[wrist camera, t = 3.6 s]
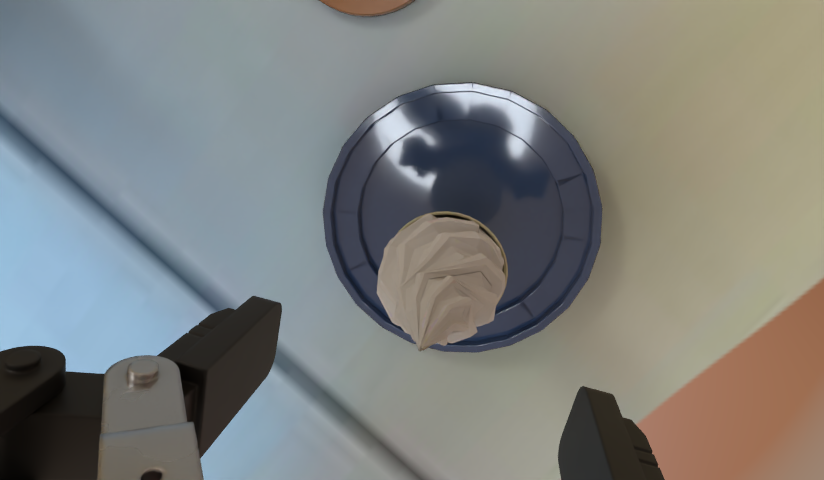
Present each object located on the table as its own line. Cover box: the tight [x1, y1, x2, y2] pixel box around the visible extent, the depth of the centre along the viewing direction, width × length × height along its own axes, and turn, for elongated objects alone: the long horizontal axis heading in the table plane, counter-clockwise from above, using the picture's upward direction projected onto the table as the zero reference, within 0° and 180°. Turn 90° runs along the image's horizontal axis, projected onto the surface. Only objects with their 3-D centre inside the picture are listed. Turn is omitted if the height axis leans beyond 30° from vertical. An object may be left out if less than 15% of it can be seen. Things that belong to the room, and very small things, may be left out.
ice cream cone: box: [377, 211, 508, 351], centre depth 21 cm, size 5×5×15 cm
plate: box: [323, 82, 602, 352], centre depth 28 cm, size 15×15×2 cm
